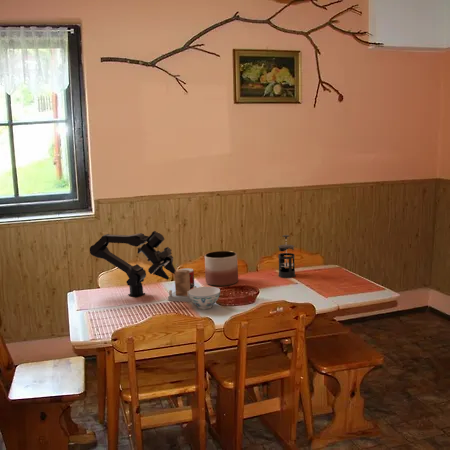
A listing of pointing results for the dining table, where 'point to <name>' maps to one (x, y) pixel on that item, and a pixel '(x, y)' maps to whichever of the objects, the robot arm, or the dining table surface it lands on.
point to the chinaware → (204, 296)
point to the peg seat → (178, 297)
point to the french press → (282, 270)
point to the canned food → (191, 275)
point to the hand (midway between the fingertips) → (172, 276)
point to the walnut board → (182, 282)
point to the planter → (221, 268)
